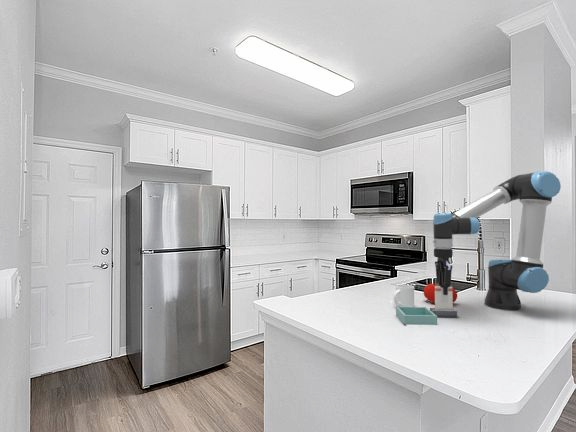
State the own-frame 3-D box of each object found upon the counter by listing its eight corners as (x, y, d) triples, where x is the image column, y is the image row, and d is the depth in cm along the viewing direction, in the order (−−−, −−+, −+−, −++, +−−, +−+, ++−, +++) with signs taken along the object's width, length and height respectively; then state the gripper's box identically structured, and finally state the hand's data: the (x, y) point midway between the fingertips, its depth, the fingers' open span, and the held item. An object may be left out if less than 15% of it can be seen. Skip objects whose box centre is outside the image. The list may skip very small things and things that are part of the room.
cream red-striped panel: (451, 310, 143) (451, 286, 143) (452, 311, 142) (452, 286, 142) (435, 310, 144) (434, 285, 144) (436, 311, 142) (435, 286, 142)
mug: (400, 311, 150) (400, 289, 150) (387, 307, 157) (387, 286, 157) (417, 308, 156) (417, 286, 156) (404, 304, 163) (403, 283, 163)
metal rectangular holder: (453, 314, 146) (453, 306, 146) (461, 319, 138) (461, 311, 138) (426, 313, 147) (426, 306, 147) (432, 319, 139) (432, 311, 139)
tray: (425, 316, 143) (425, 307, 143) (437, 326, 130) (437, 316, 130) (395, 315, 144) (395, 306, 144) (404, 325, 131) (404, 315, 131)
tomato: (438, 298, 174) (438, 280, 174) (463, 306, 159) (463, 286, 159) (416, 300, 170) (416, 282, 170) (440, 309, 154) (440, 288, 154)
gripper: (428, 246, 150) (429, 297, 150) (440, 249, 136) (441, 305, 136) (444, 246, 150) (445, 297, 150) (459, 249, 135) (460, 305, 135)
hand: (443, 301), depth 143 cm, fingers closed on cream red-striped panel, 1 cm apart
